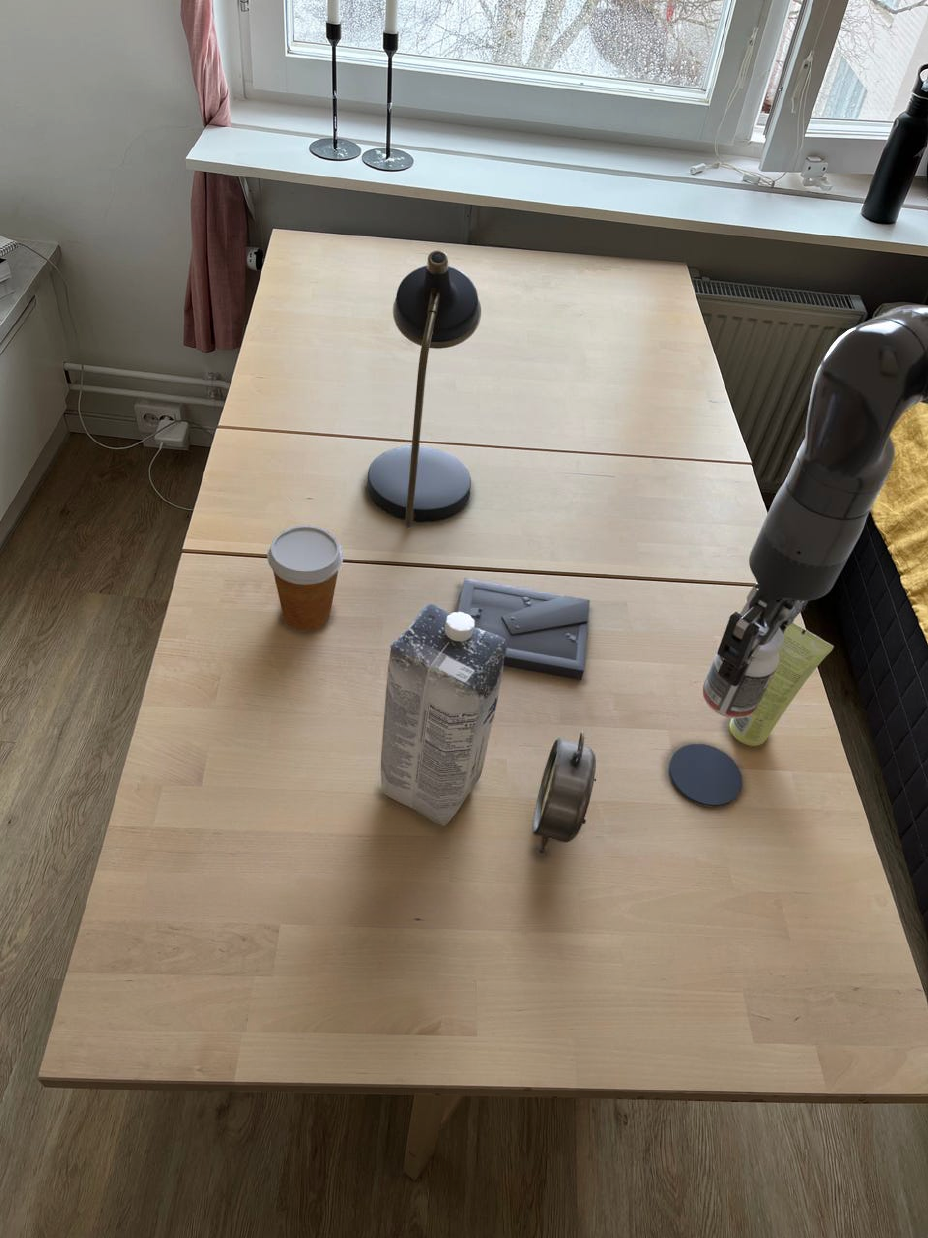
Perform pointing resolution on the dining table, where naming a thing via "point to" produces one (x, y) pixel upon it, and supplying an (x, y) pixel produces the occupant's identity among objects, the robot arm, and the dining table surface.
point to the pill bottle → (743, 681)
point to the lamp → (418, 475)
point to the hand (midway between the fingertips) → (746, 662)
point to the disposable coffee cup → (305, 574)
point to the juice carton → (439, 711)
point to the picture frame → (531, 626)
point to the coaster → (705, 775)
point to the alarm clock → (564, 791)
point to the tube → (782, 684)
